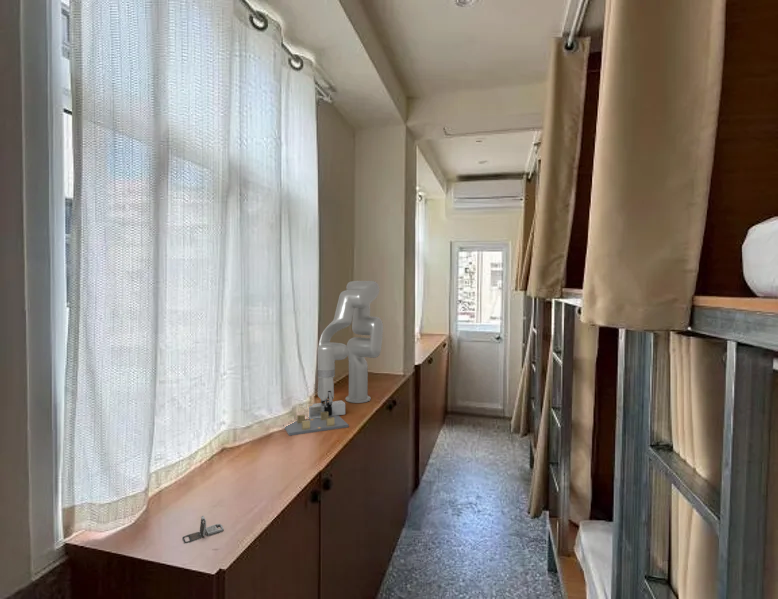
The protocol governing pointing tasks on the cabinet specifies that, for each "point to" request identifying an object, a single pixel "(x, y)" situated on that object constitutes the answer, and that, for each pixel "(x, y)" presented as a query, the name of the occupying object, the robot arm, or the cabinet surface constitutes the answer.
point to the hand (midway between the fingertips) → (326, 413)
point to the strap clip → (204, 531)
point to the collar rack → (315, 424)
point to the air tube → (317, 408)
